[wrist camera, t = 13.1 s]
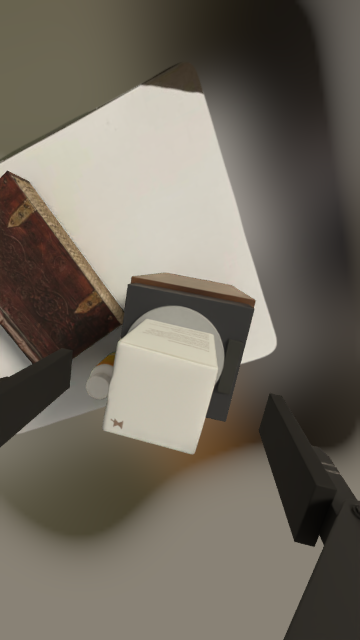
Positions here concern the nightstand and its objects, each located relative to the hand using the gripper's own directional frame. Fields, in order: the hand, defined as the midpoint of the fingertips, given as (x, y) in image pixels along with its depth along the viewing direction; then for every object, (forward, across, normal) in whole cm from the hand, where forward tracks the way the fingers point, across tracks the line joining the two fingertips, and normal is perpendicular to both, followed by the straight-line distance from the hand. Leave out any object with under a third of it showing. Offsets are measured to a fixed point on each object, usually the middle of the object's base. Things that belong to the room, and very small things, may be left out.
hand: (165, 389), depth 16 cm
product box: (+6, 0, 0) cm, 6 cm away
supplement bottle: (+29, -12, -13) cm, 34 cm away
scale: (+9, 0, 0) cm, 9 cm away
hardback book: (+29, -28, 0) cm, 40 cm away
